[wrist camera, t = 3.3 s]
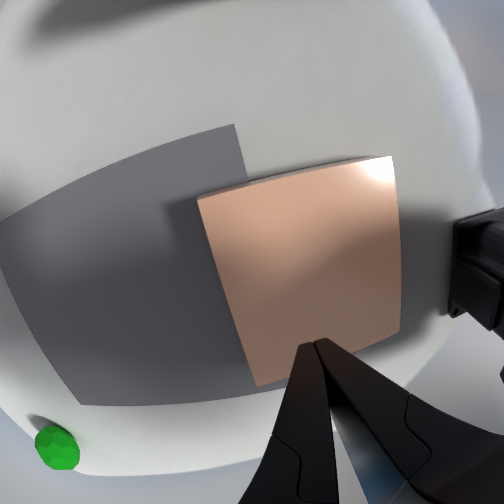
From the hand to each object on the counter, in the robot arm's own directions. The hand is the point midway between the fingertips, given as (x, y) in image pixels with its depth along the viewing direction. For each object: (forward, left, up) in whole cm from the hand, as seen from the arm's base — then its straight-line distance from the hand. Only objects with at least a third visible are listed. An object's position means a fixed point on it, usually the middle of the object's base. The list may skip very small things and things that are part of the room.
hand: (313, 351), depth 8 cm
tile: (+3, 0, -4) cm, 5 cm away
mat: (+9, 0, -6) cm, 11 cm away
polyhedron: (+25, +13, -6) cm, 29 cm away
